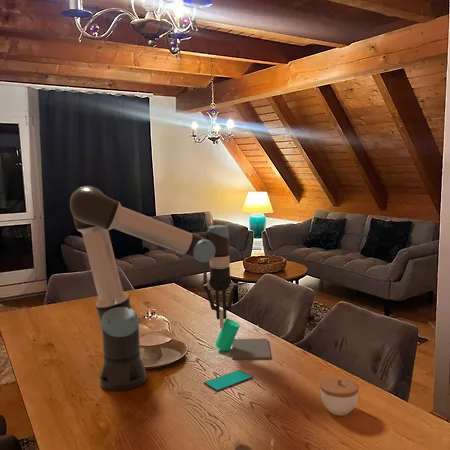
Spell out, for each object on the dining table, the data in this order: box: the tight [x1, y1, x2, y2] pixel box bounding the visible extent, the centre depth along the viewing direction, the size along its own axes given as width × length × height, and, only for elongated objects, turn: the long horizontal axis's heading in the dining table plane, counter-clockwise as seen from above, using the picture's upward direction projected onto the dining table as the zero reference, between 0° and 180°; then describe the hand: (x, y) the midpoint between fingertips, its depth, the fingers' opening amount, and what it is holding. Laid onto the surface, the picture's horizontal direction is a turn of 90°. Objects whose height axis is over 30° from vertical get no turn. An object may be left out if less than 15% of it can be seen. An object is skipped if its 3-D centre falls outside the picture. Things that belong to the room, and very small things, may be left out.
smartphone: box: [203, 369, 254, 393], centre depth 157 cm, size 7×1×15 cm
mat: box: [231, 338, 272, 360], centre depth 183 cm, size 18×14×1 cm
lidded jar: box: [319, 376, 360, 417], centre depth 137 cm, size 11×11×9 cm
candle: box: [215, 317, 240, 352], centre depth 182 cm, size 6×6×12 cm
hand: (221, 327), depth 182 cm, fingers closed
